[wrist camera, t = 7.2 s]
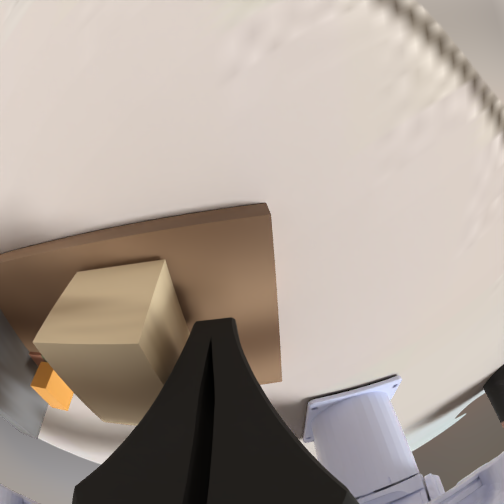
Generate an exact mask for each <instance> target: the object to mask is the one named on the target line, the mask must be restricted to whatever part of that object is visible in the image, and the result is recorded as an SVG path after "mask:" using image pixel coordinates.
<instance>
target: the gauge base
mask: <svg viewBox="0 0 504 504" xmlns="http://www.w3.org/2000/svg"><path fill="white" fill-rule="evenodd" d="M164 259H165V261H166V264H167V267H168V270H169V274H170V277H171V280H172V283H173V286H174V289H175V292H176V295H177V298H178V301H179V304H180V307H181V310H182V313H183V316H184V318H185V321H186V324H187V327H188V329H189V332H191V330H192V328H193V325H194V323H195V322H196V321H203V320H212V319H221V318H229V317H232V318H234V319H235V320H236V325H237V329H238V334H239V339H240V343H241V346H242V349H243V352H244V354H245V356H246V359H247V361H248V363H249V365H250V367H251V369H252V371H253V373H254V375H255V377H256V379H257V381H258V383H259V384H260V385H261V384H268V383H275V382H281V381H282V372H281V353H280V335H279V318H278V303H277V288H276V274H275V260H274V247H273V234H272V222H271V214H270V211H269V209H268V206H267V204H266V203H262V204H254V205H246V206H239V207H231V208H224V209H217V210H211V211H204V212H198V213H191V214H185V215H179V216H173V217H167V218H161V219H155V220H150V221H144V222H139V223H134V224H128V225H123V226H118V227H113V228H108V229H103V230H98V231H94V232H89V233H84V234H80V235H75V236H71V237H66V238H62V239H58V240H53V241H49V242H45V243H41V244H37V245H33V246H29V247H25V248H21V249H18V250H14V251H10V252H6V253H3V254H0V416H2V417H3V418H4V419H5V420H6V421H7V422H8V423H10V424H11V425H12V426H13V427H14V428H16V429H17V430H18V431H19V432H21V433H23V434H26V435H28V436H31V437H33V438H36V439H38V435H39V432H40V428H41V425H42V422H43V419H44V416H45V413H46V410H47V407H48V403H47V402H46V401H45V400H44V399H43V398H42V397H41V396H40V395H39V394H38V393H37V392H36V391H35V390H34V389H33V388H32V387H31V386H30V385H31V383H32V380H33V378H34V376H35V374H36V371H37V369H38V367H39V365H40V363H41V362H47V361H46V360H45V358H44V357H43V356H42V354H41V353H40V352H39V350H38V349H37V348H36V346H35V345H34V344H33V340H34V338H35V337H36V335H37V333H38V331H39V330H40V328H41V326H42V325H43V323H44V321H45V320H46V318H47V316H48V315H49V313H50V312H51V310H52V308H53V307H54V305H55V304H56V302H57V301H58V299H59V298H60V296H61V295H62V293H63V292H64V290H65V289H66V287H67V286H68V284H69V283H70V281H71V280H72V279H73V277H74V276H75V274H76V273H77V272H80V271H87V270H93V269H100V268H107V267H114V266H121V265H128V264H135V263H142V262H150V261H157V260H164Z"/></svg>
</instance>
